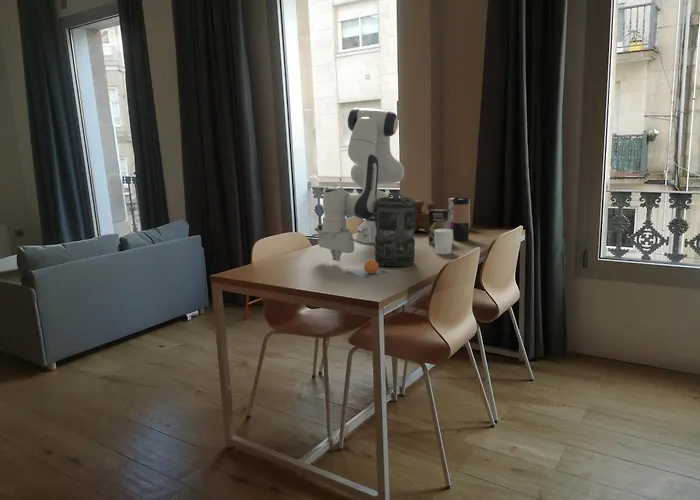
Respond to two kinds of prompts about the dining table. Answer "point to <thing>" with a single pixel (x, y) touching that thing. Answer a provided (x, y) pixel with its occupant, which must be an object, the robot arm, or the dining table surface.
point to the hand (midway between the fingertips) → (336, 260)
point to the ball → (371, 266)
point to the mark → (363, 273)
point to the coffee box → (438, 222)
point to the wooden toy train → (422, 215)
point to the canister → (395, 231)
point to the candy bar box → (450, 207)
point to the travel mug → (460, 219)
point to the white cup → (443, 241)
